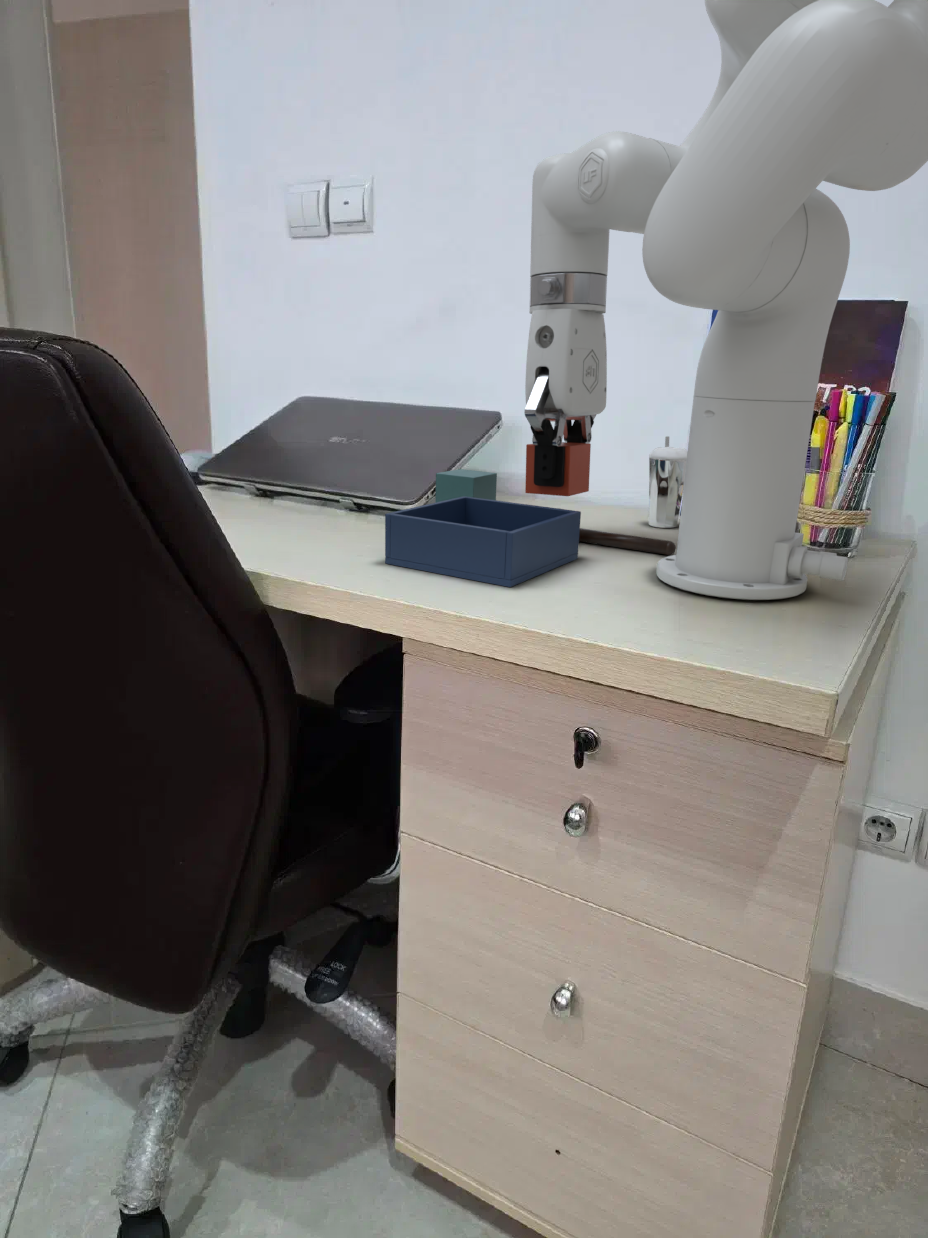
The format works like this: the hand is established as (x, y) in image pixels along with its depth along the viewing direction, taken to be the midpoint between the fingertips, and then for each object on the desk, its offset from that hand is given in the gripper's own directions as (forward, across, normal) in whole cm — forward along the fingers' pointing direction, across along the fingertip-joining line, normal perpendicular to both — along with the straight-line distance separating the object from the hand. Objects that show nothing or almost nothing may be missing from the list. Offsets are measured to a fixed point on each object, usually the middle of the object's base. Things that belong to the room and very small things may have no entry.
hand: (561, 481), depth 86 cm
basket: (+6, -14, +1) cm, 15 cm away
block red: (+1, 0, 0) cm, 1 cm away
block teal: (+5, 0, +12) cm, 13 cm away
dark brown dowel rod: (+6, 0, +1) cm, 6 cm away
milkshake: (+6, +15, -6) cm, 18 cm away
